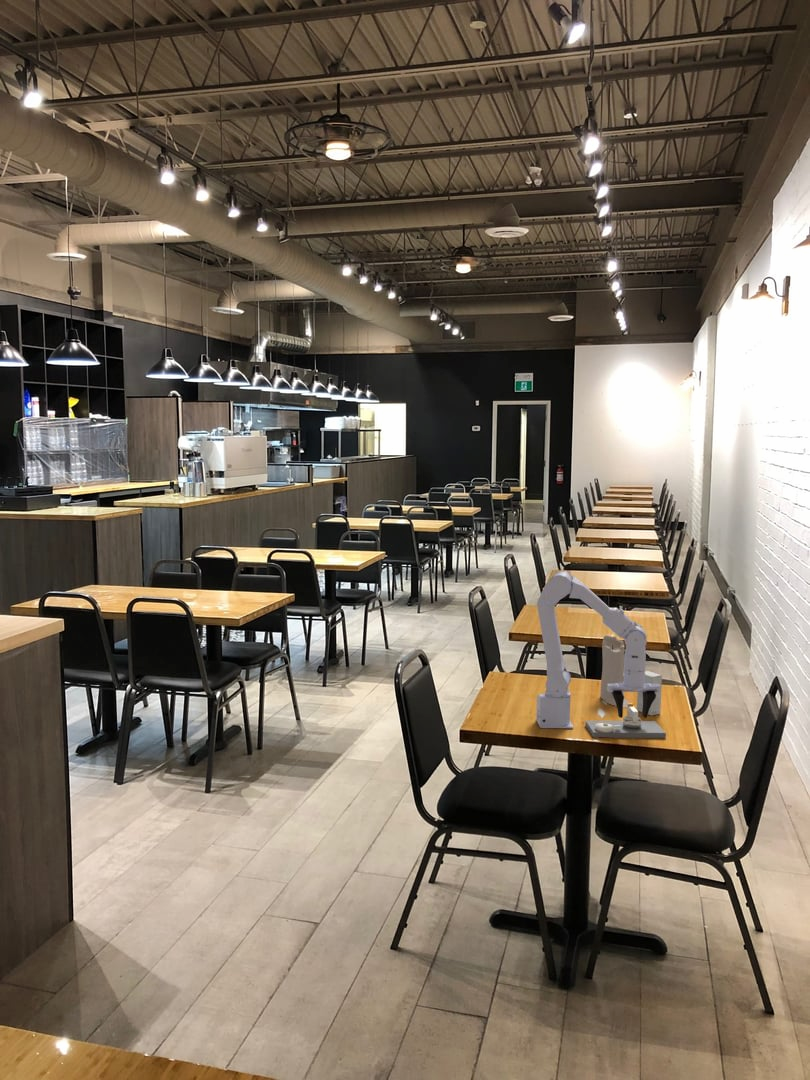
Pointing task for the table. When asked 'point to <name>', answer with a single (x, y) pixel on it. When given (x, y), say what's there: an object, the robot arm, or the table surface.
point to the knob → (632, 718)
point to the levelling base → (624, 730)
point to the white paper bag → (612, 667)
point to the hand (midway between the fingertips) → (632, 716)
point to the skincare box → (656, 705)
